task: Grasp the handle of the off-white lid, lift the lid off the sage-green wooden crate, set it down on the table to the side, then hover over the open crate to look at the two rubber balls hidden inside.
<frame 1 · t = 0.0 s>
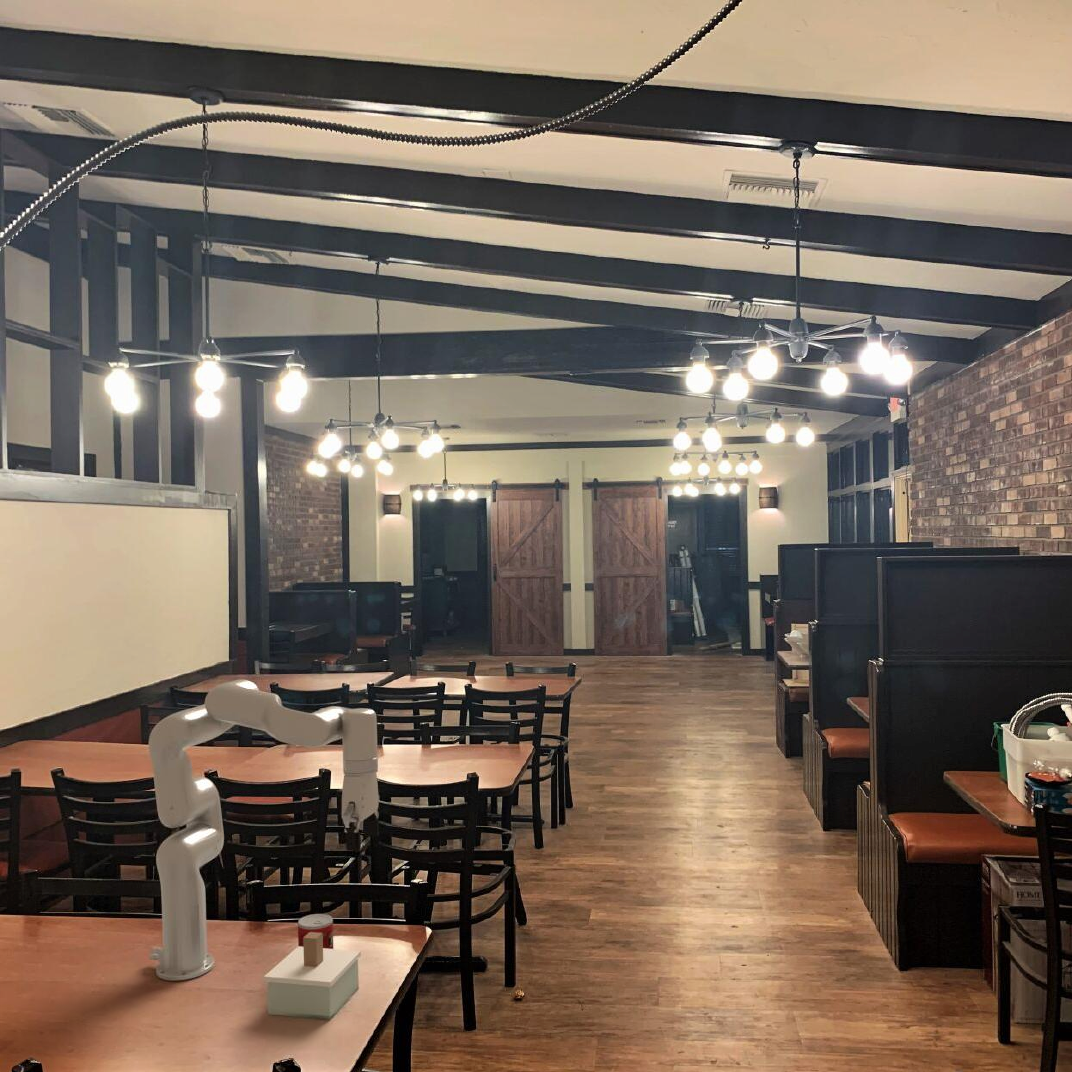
hand: (362, 843, 211), 31 cm above the table, fingers open, 9 cm apart
lid: (313, 968, 204), point 7 cm above the table, touching crate
canned food: (316, 968, 220), on the table
ball cream: (329, 985, 206), point 3 cm above the table, touching crate
crate: (314, 1001, 204), on the table
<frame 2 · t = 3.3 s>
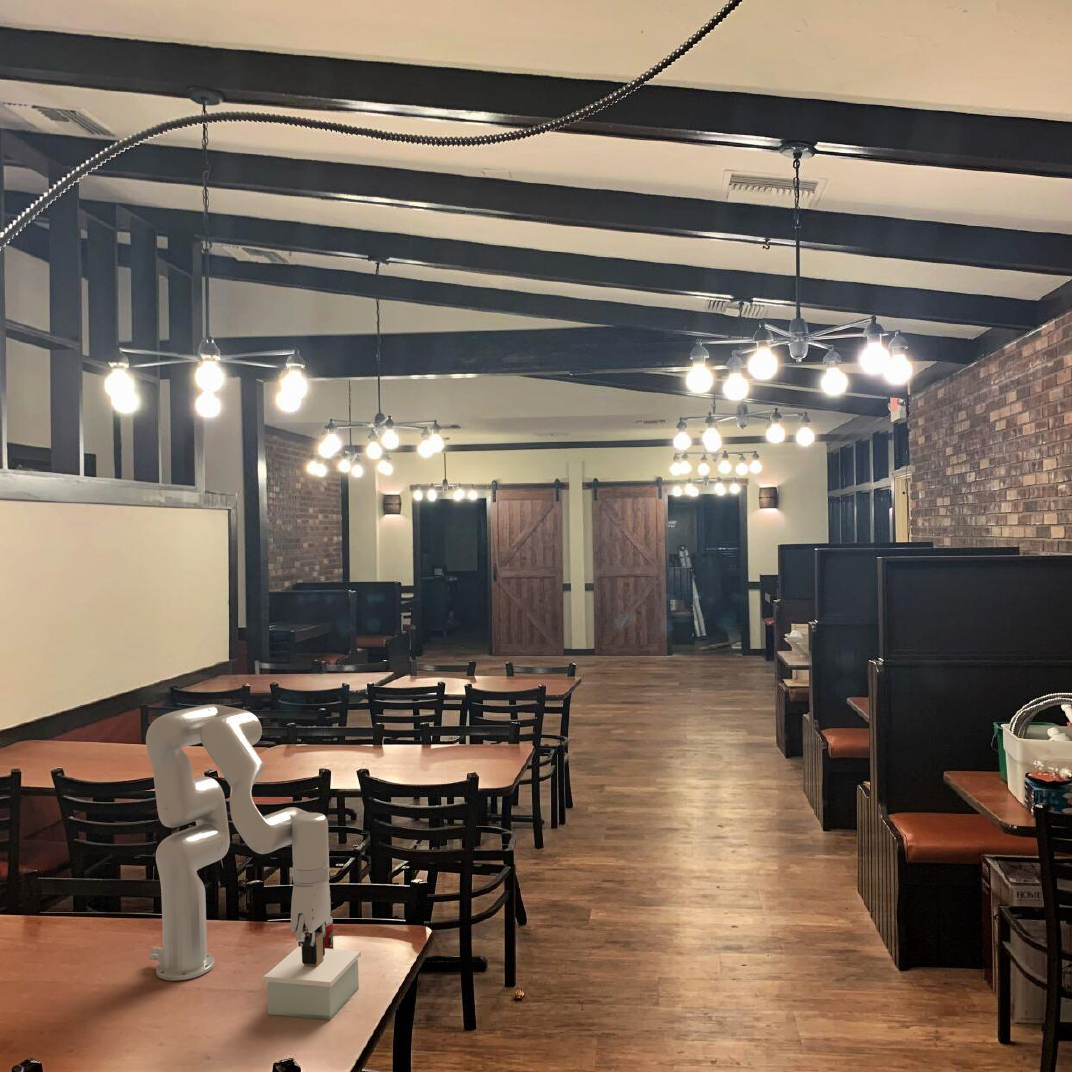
hand: (313, 958, 204), 9 cm above the table, fingers closed on lid, 3 cm apart
lid: (313, 968, 204), point 7 cm above the table, touching crate, gripper
everything else where it was.
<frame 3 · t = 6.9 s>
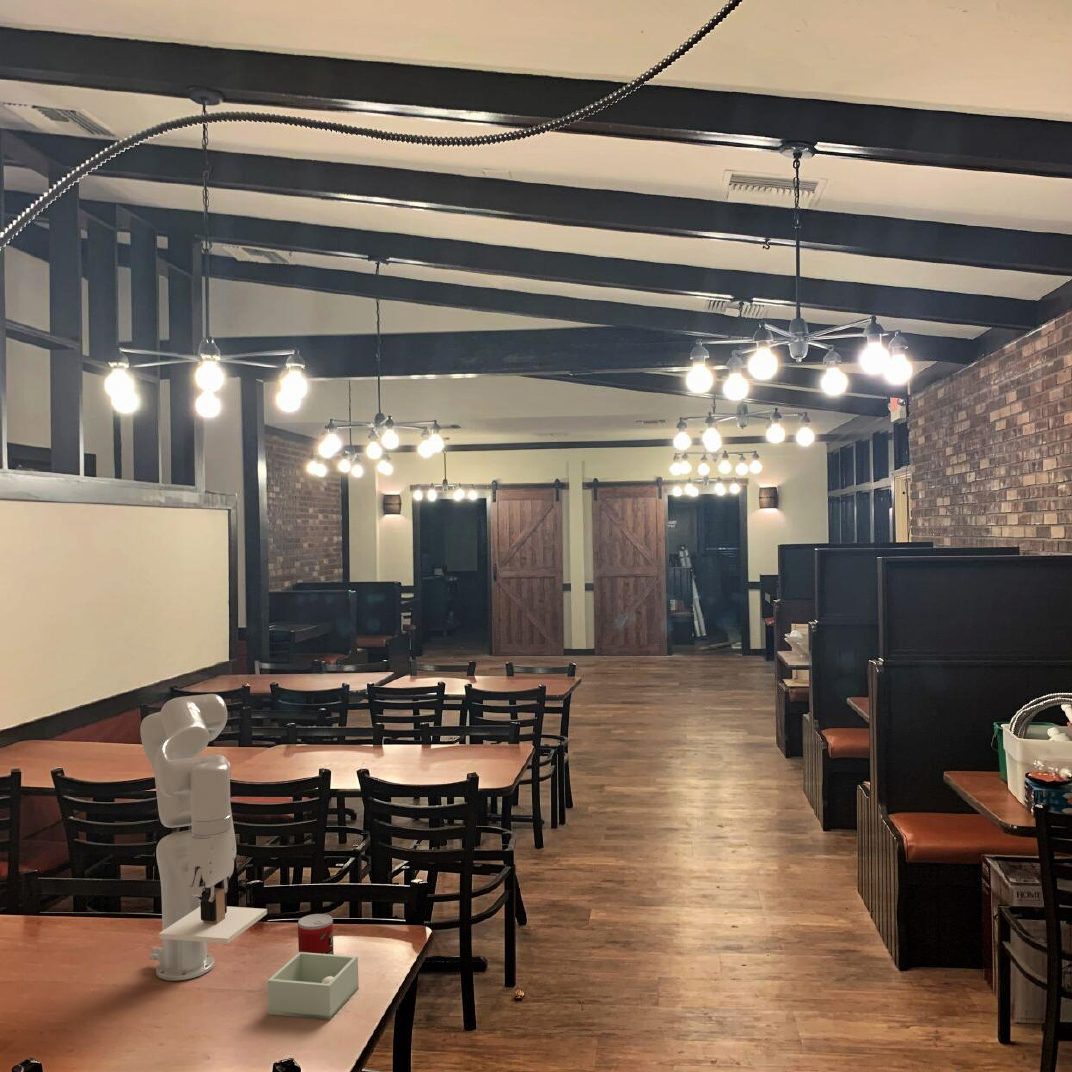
hand: (213, 915, 193), 23 cm above the table, fingers closed on lid, 3 cm apart
lid: (214, 925, 193), point 21 cm above the table, touching gripper
everything else where it was.
when the fingers open (3 cm above the table, at t = 10.5 s): lid drops 2 cm, on the table.
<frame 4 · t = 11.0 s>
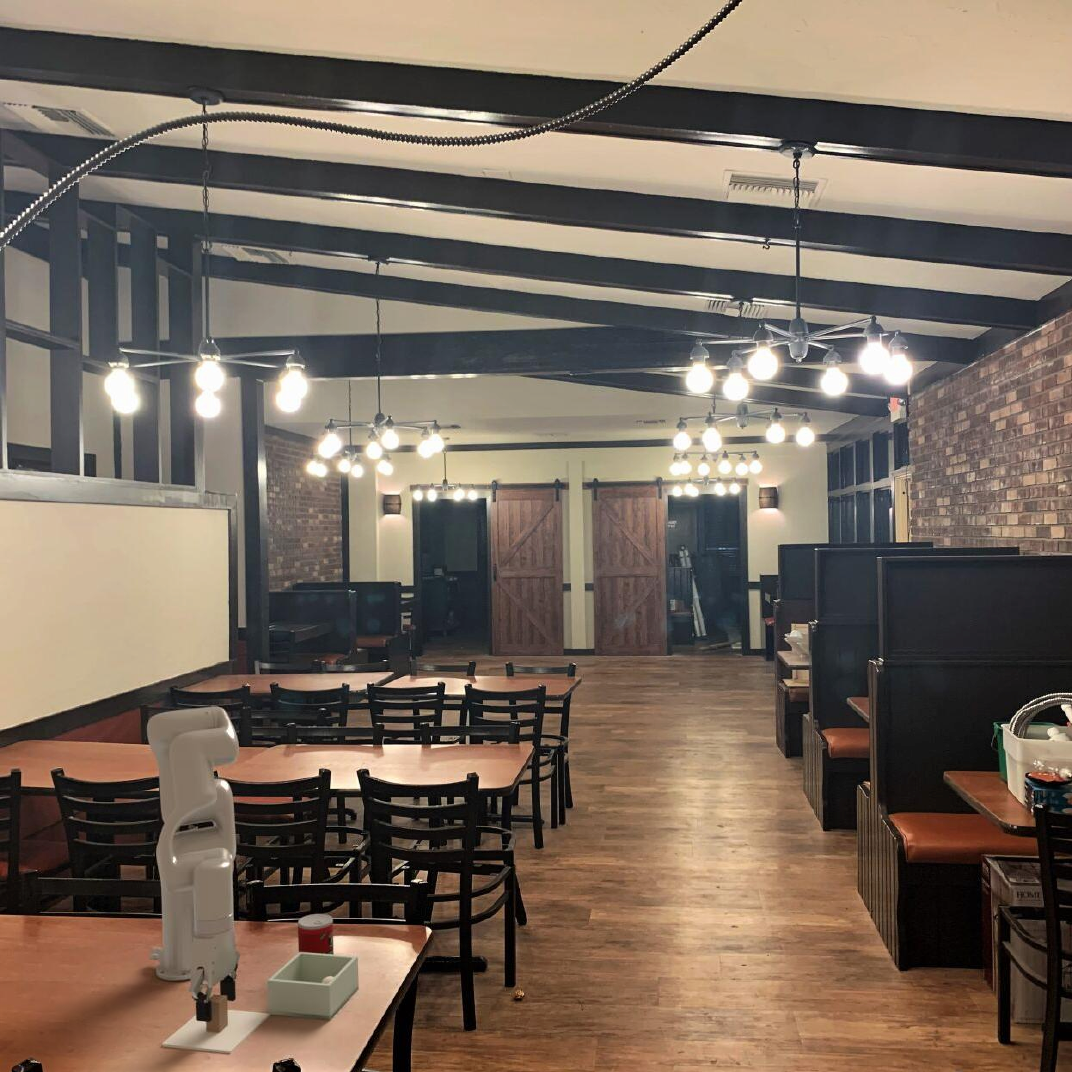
hand: (216, 1009, 193), 4 cm above the table, fingers open, 8 cm apart
lid: (217, 1033, 193), on the table
everything else where it was.
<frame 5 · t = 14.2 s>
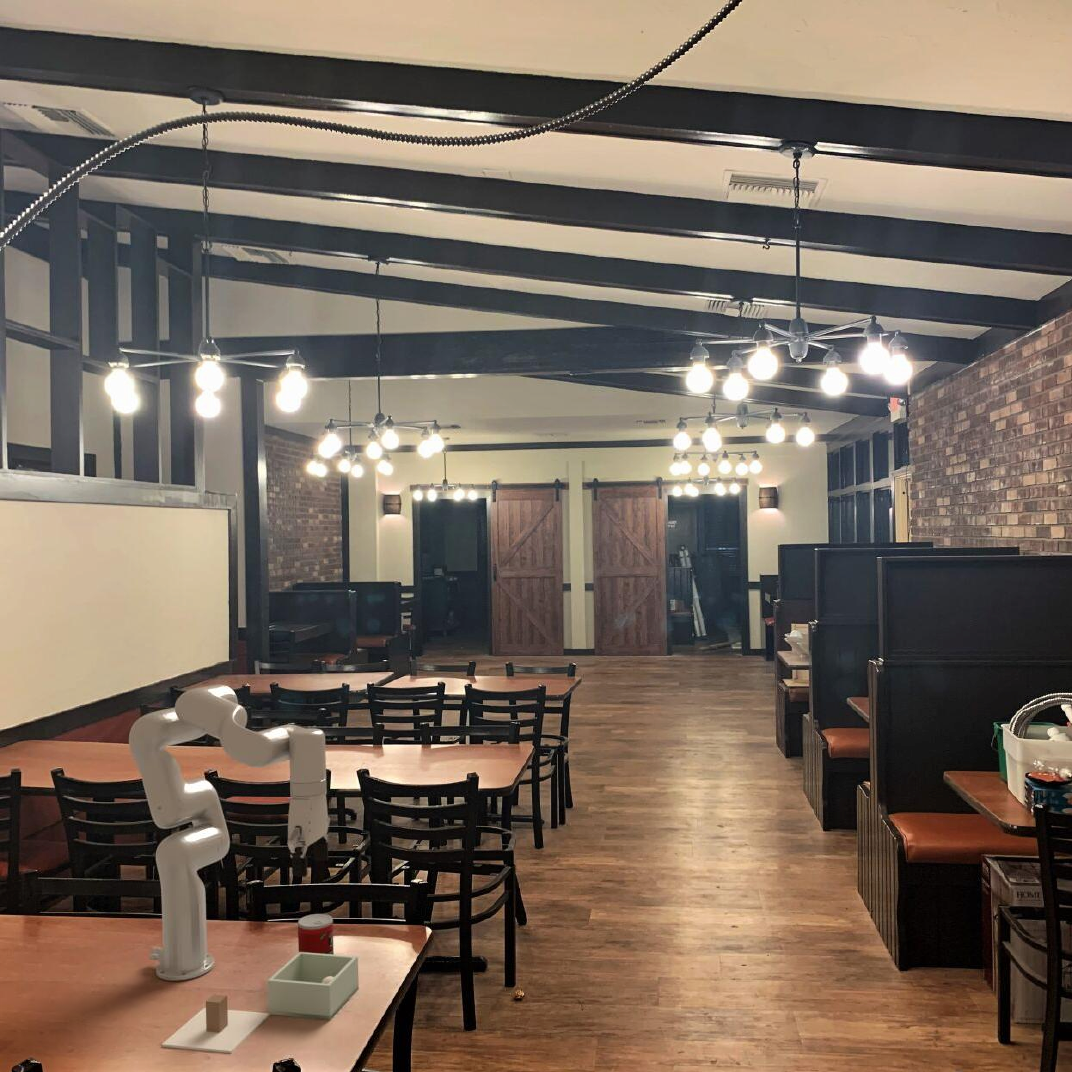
hand: (310, 868, 204), 28 cm above the table, fingers open, 9 cm apart
nothing on the table moved.
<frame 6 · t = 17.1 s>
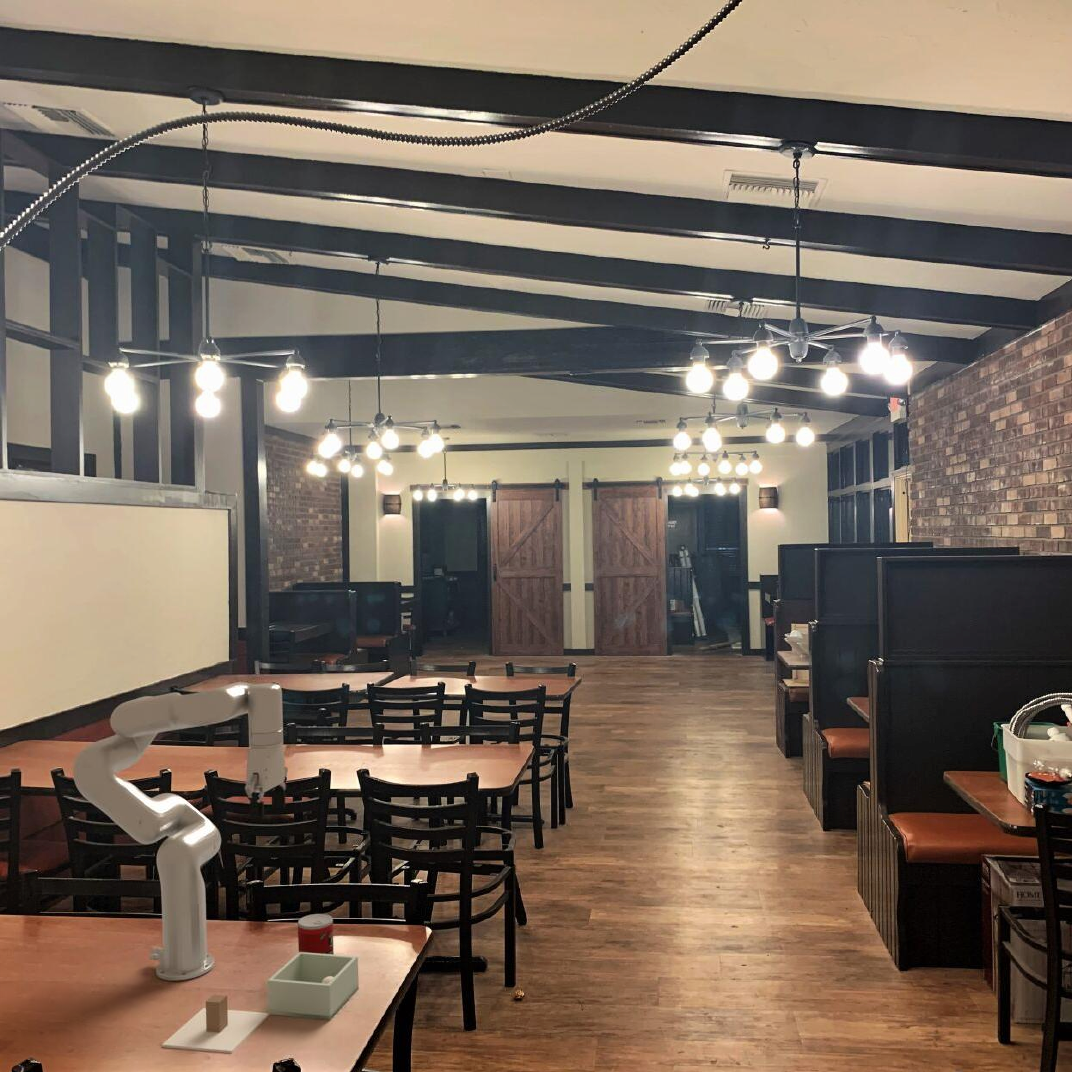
hand: (268, 813, 219), 36 cm above the table, fingers open, 9 cm apart
nothing on the table moved.
at the end: lid inside the target area (0.1 cm from its centre), on the table; lid touching table; lid tilted 0° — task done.
